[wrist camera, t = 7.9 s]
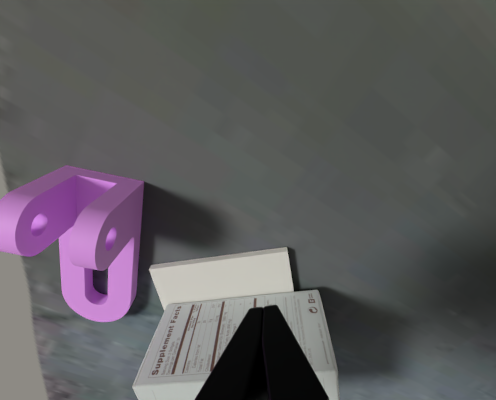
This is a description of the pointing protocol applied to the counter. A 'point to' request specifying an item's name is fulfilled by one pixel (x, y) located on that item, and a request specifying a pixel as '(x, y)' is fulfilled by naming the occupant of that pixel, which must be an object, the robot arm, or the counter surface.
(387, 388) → the counter surface
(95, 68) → the counter surface
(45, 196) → the bracket
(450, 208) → the counter surface
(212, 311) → the supplement box
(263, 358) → the robot arm
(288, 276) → the mat
